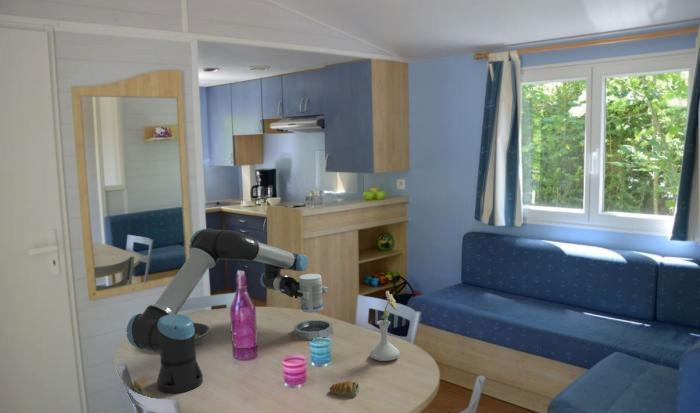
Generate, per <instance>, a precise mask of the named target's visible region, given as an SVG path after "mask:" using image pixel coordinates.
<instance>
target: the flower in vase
mask: <svg viewBox="0 0 700 413" xmlns="http://www.w3.org/2000/svg"><path fill="white" fill-rule="evenodd" d="M385 297H386V300H387V302H386V303H387V304H386V305H385V308H384V313H383V314H382V316H380V319H382V320H378V321H376V323H377V325H378V327H379V328H380V335H381V336H380V342H379V343H377V344H376V345H375V346H374V347H373V348H371V349H370V351H369V356H370V358H372V359H374V360H376V361H380V362H388V361H394V360H396V359H397V358H399V357H400V355H401V352H400V350H399V349H398V348H397V347H396V346H394V344H392V343H391V342H390V341H389V340H388V330H389V329H388V328H389V326H390V324H391V321H390V320H386V319H385V318H387V317H389V316H390V312H389V310H388V309H387V308H388V306H390V307H391V308H392V309H393V310H395V311H397V310H398V305H397V303H396V302H397V301H396V299H395V298H394V297H393V294H392V293H391V294H390V290H386V291H385Z"/></svg>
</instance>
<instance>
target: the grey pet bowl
mask: <svg viewBox="0 0 700 413" xmlns="http://www.w3.org/2000/svg"><path fill="white" fill-rule="evenodd" d="M333 330H334V329H333V323H332V322H330V321H328V320H321V319H309V320H304V321H300V322H297V323H296V324H294V326H293V335H294V336H293V337H295V338H297V339H299V340H300V339H301V340H305V339H306V340H309V341H310V339H313V338H317V337H326V338H328V337H330V336H331V335H333V334H332V333H334V332H333ZM330 334H331V335H330ZM329 335H330V336H329Z"/></svg>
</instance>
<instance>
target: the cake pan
mask: <svg viewBox="0 0 700 413" xmlns="http://www.w3.org/2000/svg"><path fill="white" fill-rule="evenodd" d="M193 325H194V329H195V334H198V336H195V347H197V346H199V345H200V346H201V344H203V343H205V341H206V340H207V336H208V333H209V332H210V330H211V328H210V326H208V325H207V324H205V323H200V322H193Z"/></svg>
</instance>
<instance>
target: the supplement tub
mask: <svg viewBox="0 0 700 413" xmlns="http://www.w3.org/2000/svg"><path fill="white" fill-rule="evenodd" d="M298 282H299V285H300V290H301V291H305V292H309V299H305V298H301V297H299V298H300V299H299V300H300V309H301V311H302V312H304V313H307V314H308V313H309V314H310V313H318V312H321V311H323V309H324V297H323V296H324V293H323V292H322V286H323V282H322V275H321V274H319V273H306V274H302V275H300V276H299V280H298Z"/></svg>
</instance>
